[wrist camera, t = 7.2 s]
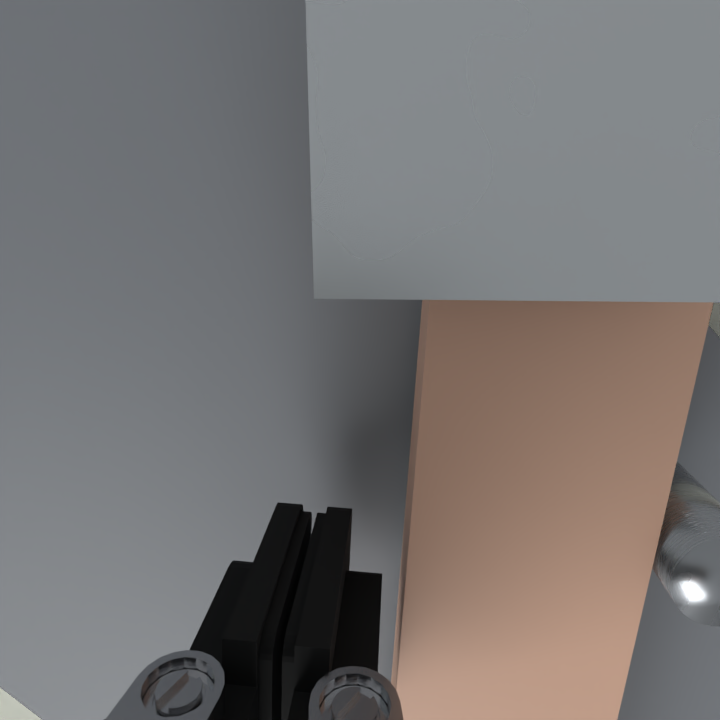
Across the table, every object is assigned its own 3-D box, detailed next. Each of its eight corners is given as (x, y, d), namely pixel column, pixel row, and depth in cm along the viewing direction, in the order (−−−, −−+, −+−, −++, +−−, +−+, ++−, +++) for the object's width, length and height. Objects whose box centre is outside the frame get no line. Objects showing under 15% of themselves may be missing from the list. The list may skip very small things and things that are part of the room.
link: (528, 929, 16) (571, 1197, 12) (355, 905, 16) (336, 1158, 12) (714, -3, 9) (972, -171, 5) (418, -9, 10) (426, -175, 5)
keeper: (634, 467, 14) (841, 713, 7) (363, 458, 15) (324, 680, 8) (739, -261, 10) (1410, -1198, 3) (360, -234, 11) (277, -990, 4)
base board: (-300, 383, 16) (-372, 401, 14) (121, -307, 11) (75, -388, 9) (376, 916, 19) (373, 974, 18) (928, 594, 14) (987, 639, 13)
